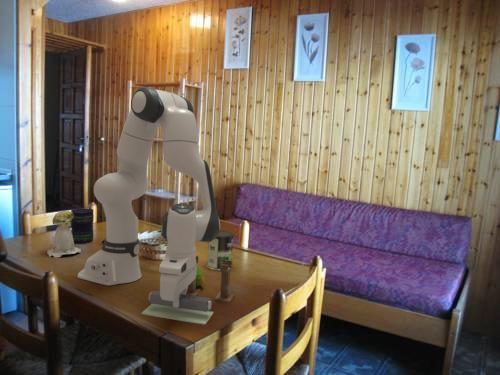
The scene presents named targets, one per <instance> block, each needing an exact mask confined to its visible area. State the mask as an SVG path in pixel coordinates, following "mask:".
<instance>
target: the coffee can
mask: <svg viewBox="0 0 500 375" xmlns="http://www.w3.org/2000/svg"><path fill="white" fill-rule="evenodd" d="M234 235H235V234H234V233H233V232H231V231H228V230H220V233H219V235H218V236H217V237H216V238H215V239H214V240H213V241H211V242H207V264H206V267H207V268H208V269H210V270H212V271H220V266H221V264H225V260H232V261H233V248H234V247H233V245H234V237H235V236H234ZM228 269H231V270H232V268H228Z"/></svg>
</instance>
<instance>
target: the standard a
mask: <svg viewBox="0 0 500 375" xmlns="http://www.w3.org/2000/svg"><path fill="white" fill-rule="evenodd" d="M196 263H197V265H198V264H199V256H198V255H196ZM201 292H202V289H201V288H198V287H196V278H195V280H194V281H193V282H191V283H190V284H189V285H188V289H187V293H186V295H191V296H198V295H199V293H201Z"/></svg>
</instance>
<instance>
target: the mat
mask: <svg viewBox="0 0 500 375" xmlns="http://www.w3.org/2000/svg"><path fill="white" fill-rule="evenodd" d="M141 315H145V316H149V317H156V318H162V319H167V320H175V321H180V322H186V323H190V324H192V323H193V324H198V325H206V324H207V323H208V321H210V319H211V317H212V316H213V315H214V311H211V310H208V311H207V312H204V311H197V310H190V309H184V308H177V307H171V306H164V305H157V304H151V303H150V305H149V306H147V308H145V309H144V310H143V311H142V312H141Z"/></svg>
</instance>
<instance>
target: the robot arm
mask: <svg viewBox="0 0 500 375" xmlns="http://www.w3.org/2000/svg"><path fill="white" fill-rule="evenodd" d="M130 100H131V101H130V107H131V109H130V110H129V113H128V115H127V117H126V119H125V121H124V125H123V128H122V130H121V134H120V137H119V141H118V144H117V149H116V155H117V157H118V160H119V161H118V162H119V163H118V170H117V171H116V172H111V173H107V174H105V175H102V176H101V177H99V178H98V179H97V180H96V181H95V183H94V185H93V195H94V197H95V198H96V200H97V201H98V203H100V204H101V207H102V209H103V213H104V216H105V238H104V239H103V240H101V241H99V244H98V245H99V246H101V245H102V246H101V248H100V249H99V250H98V251H96V252H94V254H92V255H91V256H89V257H88V258H87V259H86V261H85V263H84V267H83V269H82V270H80V271H79V272H78V274H77V279H81V280H85V281H88V282H92V283H97V284H100V285H103V286H104V285H105V286H113V285H114V286H115V285H118V284H119V285H121V284H128V283H133V282H135V281H139V279H141V278H142V276H143V274H142V272H141V271H142V270H141V267H140V261H139V252H140V239H139V218H138V216H137V215H136V214H135V212H134V209H133V202H132V201H134V200H137V199H139V198H140V197H142V196H144V195H145V193H147V191H148V190H149V186H150V181H149V179H148V177H147V176H148V164H149V163H148V162H149V159H150V156H151V155H150V154H151V151H152V147H153V144H154V141H155V138H156V134H157V130H158V129H159V128H160V127H162V132H163V134H162V154H163V160H164V161H165V163H166V164H167V165H168V167H170V168H171V169H172V170H174V171H176V172H178V173H180V174H183V175H185V176H188V177H190V178H192V179H194V180H195V181H196V182H197V184H198V186H199V191H200V197H201V204H202V209H199V210H196V209H195V207H194V206H193V205H191V204H188V203H176V204H171V206H170V207H169V209H168V211H167V212H165V213H164V214H163V215H162V217H161V218H160V220H161V232H160V236H162V238H164V240H166V241H167V242H166V243H167V244H166V246H165V254H164V257H163V260H162V261H161V263H160V264H159V268H158V272H159V273H160V277H159V291H160V296H161V299H162V300H166V301H173V307H179V305H180V300H179V296H180V294H184V295H186V293H187V289H188V285H189V284H190V283H191V282H193V281H194V280H195V278H196V275H197V267H198V266H197V265H198V264H197V263H196V256H197V246H196V242H204V243H208V242H211V241H213V240H214V239H215V238H216V237H217V236H218V235H219V233H220V231H221V223H220V222H221V221H220V218H219V214H218V210H217V204H216V199H215V198H216V197H215V192H214V185H213V181H212V174H211V170H210V167H209V164H208V161H206V160H205V159H203V157H202V155H201V154H200V151H199V136H198V135H199V134H198V125H197V119H196V116H195V114H194V106H193V104H192V103H191V101H190V100H188V99H187V98H185V97H183V96H182V95H178V94H176V93H174V92H170V91H167V90H161V89H157V88H156V89H155V88H153V87H149V86H147V87H139V88H137V89H136V90H135V91H134V92H133V95H132V97H131V99H130Z"/></svg>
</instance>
